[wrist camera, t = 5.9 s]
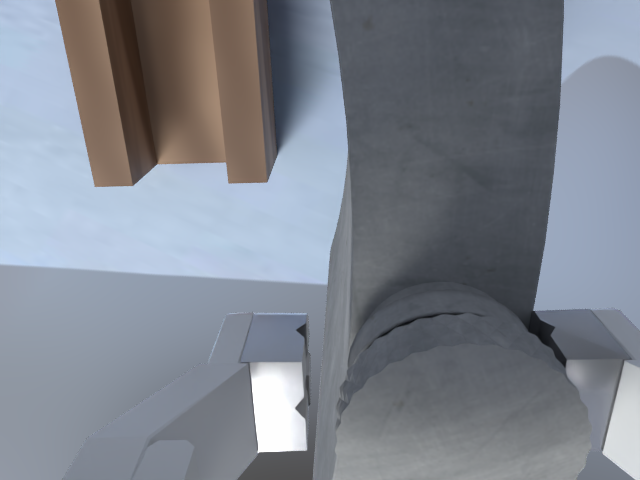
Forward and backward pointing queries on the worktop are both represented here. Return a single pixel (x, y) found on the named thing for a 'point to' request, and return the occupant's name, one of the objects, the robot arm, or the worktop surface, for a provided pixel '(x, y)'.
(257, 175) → the u rest
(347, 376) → the hip flask
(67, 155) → the worktop surface
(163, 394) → the robot arm
